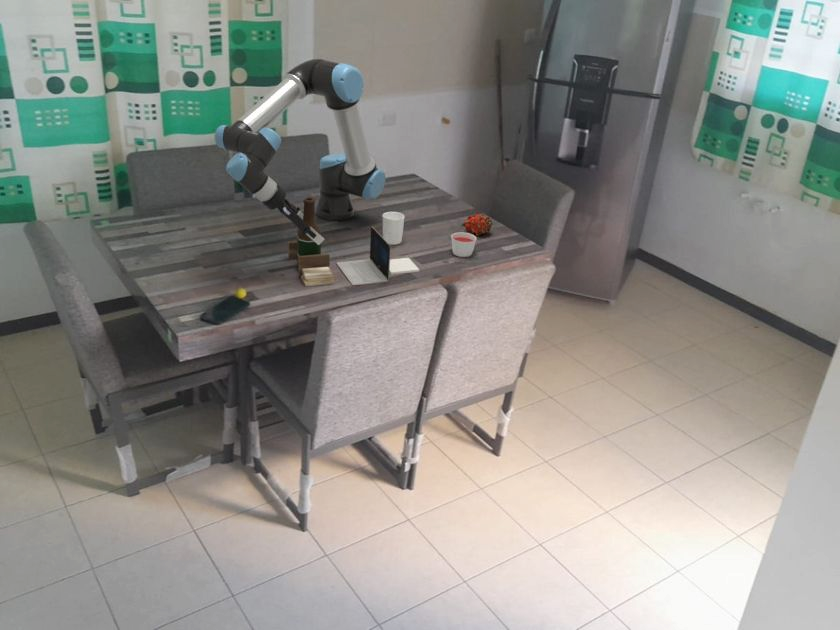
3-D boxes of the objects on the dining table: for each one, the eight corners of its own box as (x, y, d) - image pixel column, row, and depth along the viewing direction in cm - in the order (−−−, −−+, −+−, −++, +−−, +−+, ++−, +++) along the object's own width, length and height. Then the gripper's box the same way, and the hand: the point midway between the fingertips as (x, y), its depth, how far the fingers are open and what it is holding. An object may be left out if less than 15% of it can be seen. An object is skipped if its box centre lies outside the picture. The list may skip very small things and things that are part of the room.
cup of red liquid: (477, 258, 280) (479, 242, 277) (452, 258, 278) (454, 242, 275) (471, 248, 287) (473, 232, 284) (447, 248, 286) (449, 232, 283)
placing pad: (381, 262, 271) (381, 260, 271) (408, 259, 274) (408, 257, 274) (391, 274, 263) (391, 272, 262) (419, 271, 266) (419, 269, 266)
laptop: (335, 264, 268) (336, 228, 262) (370, 260, 272) (372, 225, 266) (352, 287, 253) (353, 249, 247) (389, 282, 258) (391, 246, 252)
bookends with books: (288, 258, 269) (288, 239, 266) (316, 255, 272) (316, 236, 269) (304, 286, 251) (304, 266, 247) (335, 283, 254) (335, 263, 251)
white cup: (400, 246, 284) (401, 220, 280) (379, 243, 285) (380, 217, 281) (405, 238, 291) (406, 213, 286) (384, 235, 292) (385, 210, 288)
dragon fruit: (493, 238, 301) (462, 242, 301) (489, 219, 305) (458, 223, 304) (495, 226, 294) (464, 230, 293) (491, 207, 297) (460, 211, 296)
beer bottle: (311, 260, 269) (311, 193, 257) (325, 268, 264) (326, 200, 253) (292, 265, 264) (291, 197, 252) (306, 274, 259) (306, 204, 248)
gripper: (253, 188, 257) (298, 228, 269) (269, 216, 237) (317, 257, 249) (269, 172, 257) (314, 212, 269) (286, 198, 236) (334, 240, 249)
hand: (315, 234), depth 259 cm, fingers open, 13 cm apart
